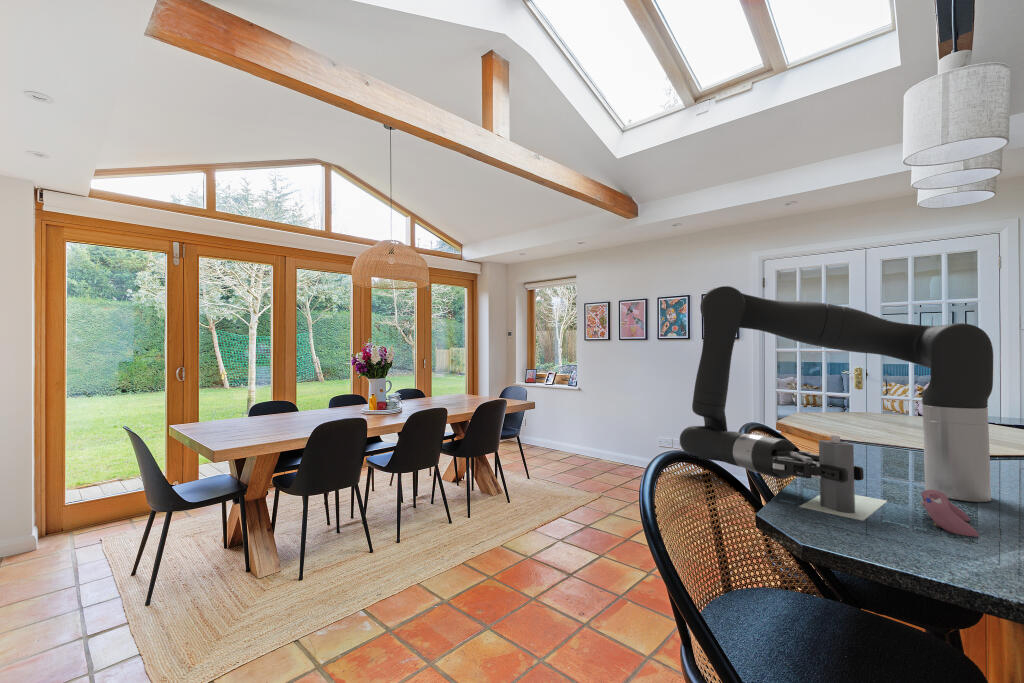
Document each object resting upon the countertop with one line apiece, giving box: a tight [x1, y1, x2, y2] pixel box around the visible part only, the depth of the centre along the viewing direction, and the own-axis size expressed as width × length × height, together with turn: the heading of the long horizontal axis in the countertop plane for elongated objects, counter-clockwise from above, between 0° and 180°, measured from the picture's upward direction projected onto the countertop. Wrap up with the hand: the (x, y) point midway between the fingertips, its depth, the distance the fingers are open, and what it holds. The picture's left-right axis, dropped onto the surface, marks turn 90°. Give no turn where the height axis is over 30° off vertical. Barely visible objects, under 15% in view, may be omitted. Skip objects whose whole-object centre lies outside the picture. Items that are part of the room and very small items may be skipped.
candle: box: [818, 434, 856, 513], centre depth 78 cm, size 5×3×12 cm, turn 20°
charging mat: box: [798, 494, 888, 522], centre depth 81 cm, size 16×9×1 cm, turn 130°
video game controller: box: [919, 489, 979, 537], centre depth 71 cm, size 10×5×7 cm, turn 141°
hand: (853, 475), depth 76 cm, fingers closed on candle, 3 cm apart
